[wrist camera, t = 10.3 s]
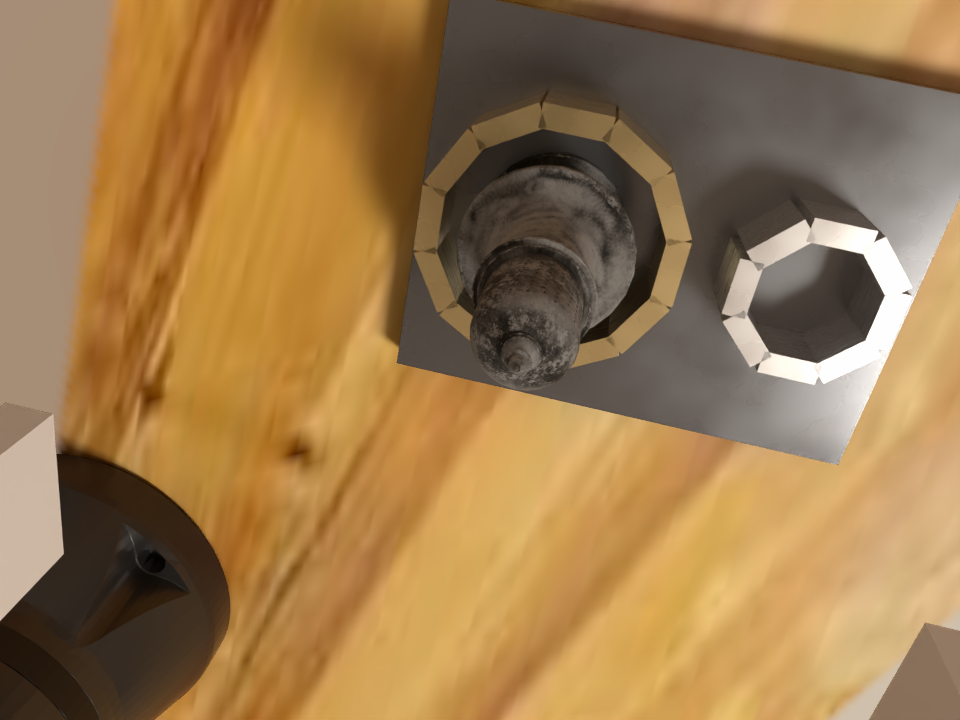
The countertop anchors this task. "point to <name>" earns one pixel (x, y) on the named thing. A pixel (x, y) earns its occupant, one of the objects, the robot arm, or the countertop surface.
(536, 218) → the salt shaker
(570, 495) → the countertop surface
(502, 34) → the plate
